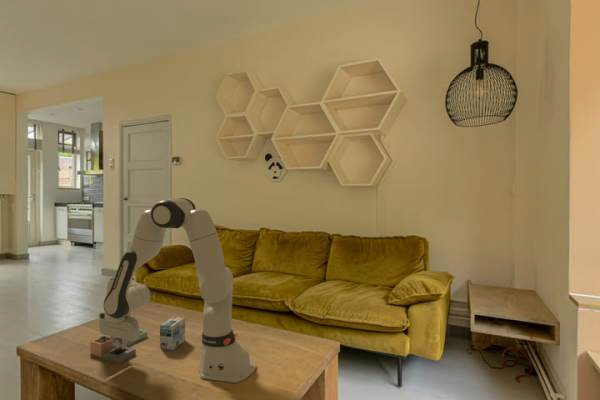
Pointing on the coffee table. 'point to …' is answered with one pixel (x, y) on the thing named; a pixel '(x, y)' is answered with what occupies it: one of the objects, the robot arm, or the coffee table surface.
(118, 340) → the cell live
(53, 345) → the coffee table surface
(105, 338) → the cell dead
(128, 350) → the gray square frame
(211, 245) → the robot arm
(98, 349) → the open cubby frame
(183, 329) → the light bulb box
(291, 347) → the coffee table surface
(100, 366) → the coffee table surface
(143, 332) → the trough
